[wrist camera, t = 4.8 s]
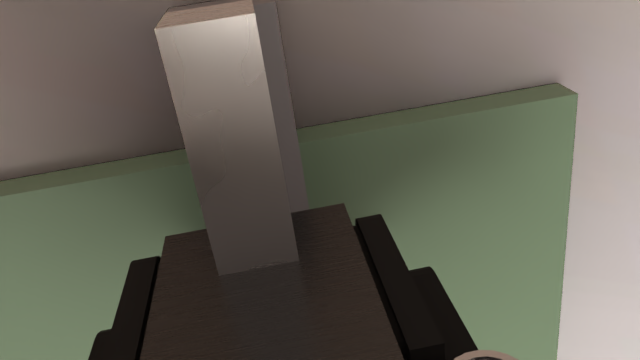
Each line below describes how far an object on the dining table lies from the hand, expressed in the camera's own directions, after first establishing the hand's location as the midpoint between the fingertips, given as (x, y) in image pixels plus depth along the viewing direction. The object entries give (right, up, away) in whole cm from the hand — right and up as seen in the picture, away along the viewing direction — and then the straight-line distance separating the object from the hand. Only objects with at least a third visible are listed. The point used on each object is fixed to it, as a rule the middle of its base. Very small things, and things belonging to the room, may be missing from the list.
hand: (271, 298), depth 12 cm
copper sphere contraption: (0, 0, +3) cm, 3 cm away
